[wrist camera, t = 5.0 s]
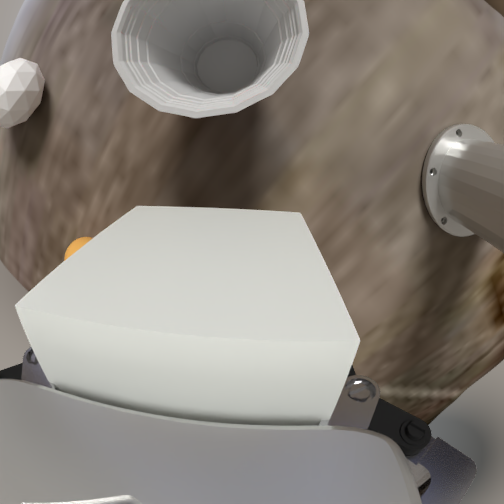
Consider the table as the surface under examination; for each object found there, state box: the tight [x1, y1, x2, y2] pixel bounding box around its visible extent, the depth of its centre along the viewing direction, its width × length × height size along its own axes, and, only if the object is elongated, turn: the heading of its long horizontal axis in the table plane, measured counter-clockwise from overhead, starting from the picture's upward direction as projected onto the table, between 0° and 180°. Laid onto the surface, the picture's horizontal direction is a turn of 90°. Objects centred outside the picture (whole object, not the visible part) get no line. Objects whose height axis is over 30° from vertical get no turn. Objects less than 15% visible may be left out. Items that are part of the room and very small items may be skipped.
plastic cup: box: [111, 0, 309, 118], centre depth 17 cm, size 11×11×12 cm
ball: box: [64, 237, 93, 261], centre depth 27 cm, size 5×5×5 cm
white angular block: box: [15, 206, 360, 426], centre depth 11 cm, size 8×8×9 cm
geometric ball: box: [0, 58, 45, 129], centre depth 19 cm, size 8×8×8 cm
